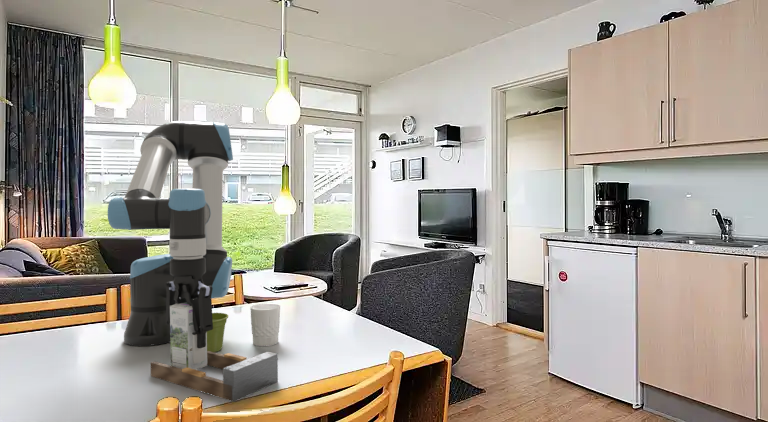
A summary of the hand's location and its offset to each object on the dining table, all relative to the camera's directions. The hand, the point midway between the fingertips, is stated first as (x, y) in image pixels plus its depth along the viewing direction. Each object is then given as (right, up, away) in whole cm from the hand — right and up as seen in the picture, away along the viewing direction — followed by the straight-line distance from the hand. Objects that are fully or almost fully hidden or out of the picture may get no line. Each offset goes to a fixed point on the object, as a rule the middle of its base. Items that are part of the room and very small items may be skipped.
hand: (189, 359), depth 108 cm
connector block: (+17, -3, -10) cm, 20 cm away
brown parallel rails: (+7, -3, -4) cm, 8 cm away
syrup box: (0, -2, 0) cm, 2 cm away
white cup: (+12, -3, +22) cm, 25 cm away
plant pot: (-1, -3, +16) cm, 16 cm away
